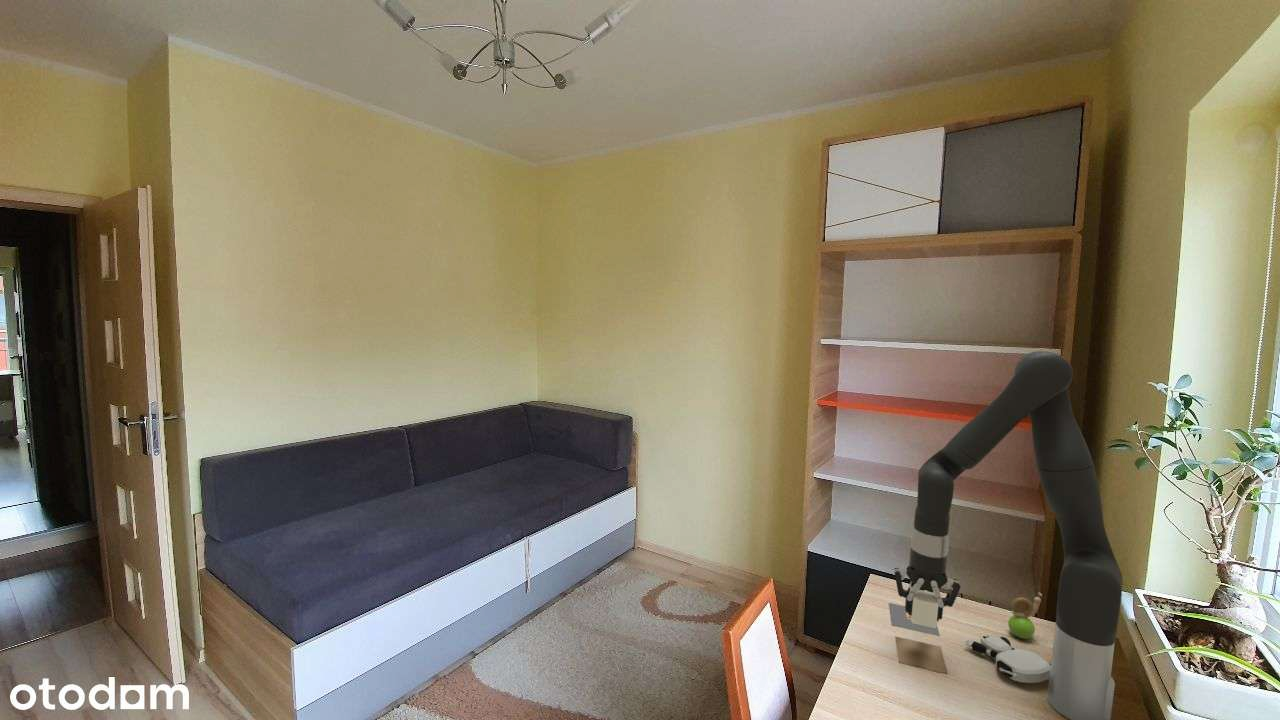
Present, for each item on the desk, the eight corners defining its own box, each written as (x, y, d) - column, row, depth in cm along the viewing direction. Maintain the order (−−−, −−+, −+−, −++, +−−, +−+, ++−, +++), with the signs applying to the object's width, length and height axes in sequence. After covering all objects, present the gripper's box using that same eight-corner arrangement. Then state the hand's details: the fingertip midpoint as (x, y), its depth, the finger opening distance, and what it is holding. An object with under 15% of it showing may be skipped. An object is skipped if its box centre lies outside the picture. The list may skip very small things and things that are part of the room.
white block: (932, 616, 124) (935, 592, 124) (936, 628, 120) (938, 604, 119) (909, 611, 126) (911, 588, 126) (911, 622, 122) (914, 599, 121)
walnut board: (940, 647, 127) (940, 646, 127) (947, 674, 118) (947, 673, 117) (895, 637, 130) (895, 636, 130) (898, 662, 121) (898, 661, 121)
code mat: (933, 613, 141) (933, 611, 141) (939, 637, 131) (939, 636, 131) (888, 603, 145) (888, 602, 145) (891, 626, 135) (891, 625, 135)
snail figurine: (1042, 645, 128) (1048, 599, 127) (1014, 642, 129) (1019, 596, 128) (1030, 631, 134) (1035, 587, 132) (1002, 628, 135) (1007, 584, 133)
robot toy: (960, 653, 126) (1017, 694, 112) (960, 635, 126) (1018, 673, 112) (1001, 646, 129) (1063, 685, 114) (1002, 628, 129) (1063, 665, 114)
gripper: (961, 547, 122) (954, 615, 124) (893, 535, 127) (888, 600, 129) (968, 562, 115) (960, 633, 117) (896, 549, 120) (890, 617, 122)
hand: (922, 616), depth 123 cm, fingers closed on white block, 5 cm apart
